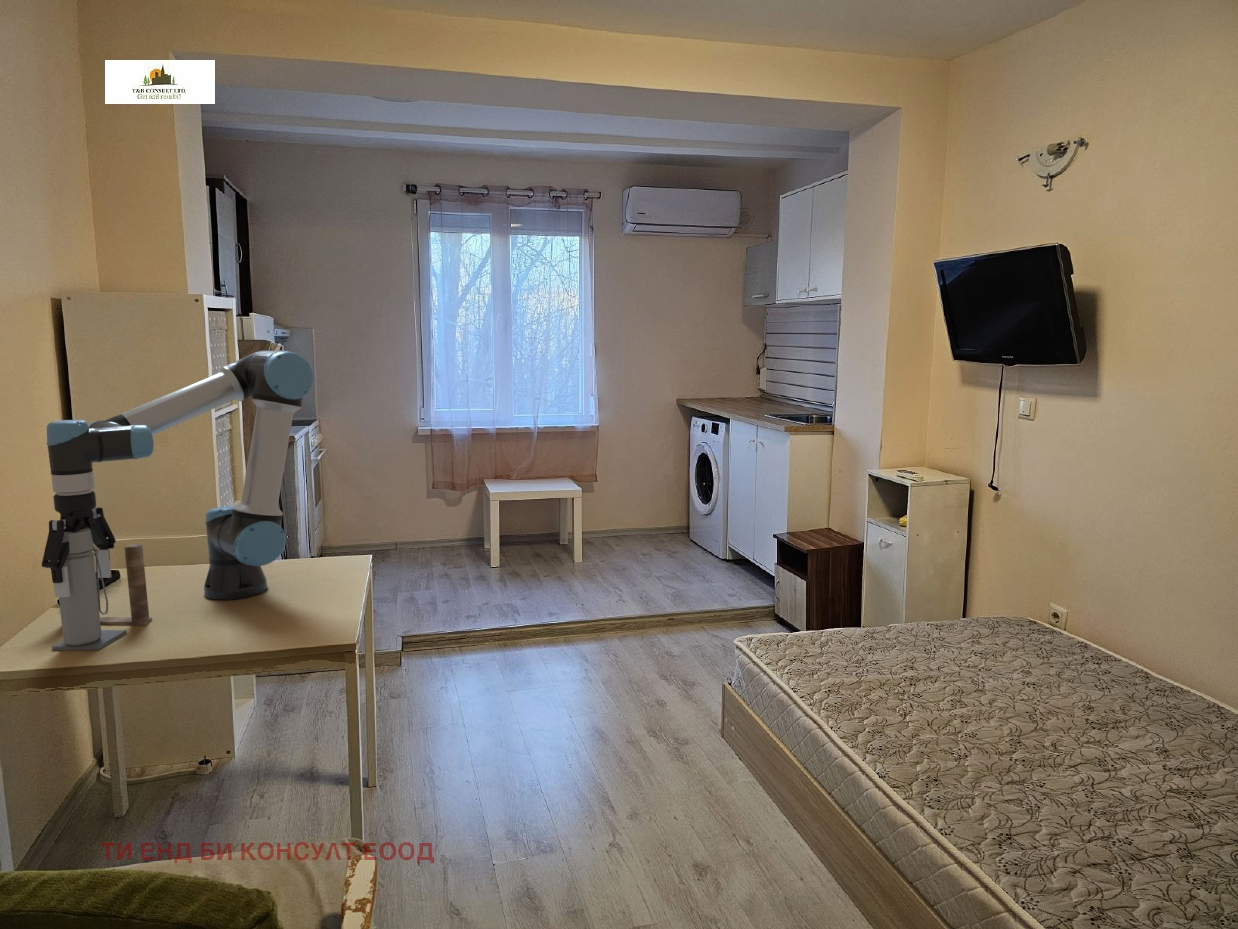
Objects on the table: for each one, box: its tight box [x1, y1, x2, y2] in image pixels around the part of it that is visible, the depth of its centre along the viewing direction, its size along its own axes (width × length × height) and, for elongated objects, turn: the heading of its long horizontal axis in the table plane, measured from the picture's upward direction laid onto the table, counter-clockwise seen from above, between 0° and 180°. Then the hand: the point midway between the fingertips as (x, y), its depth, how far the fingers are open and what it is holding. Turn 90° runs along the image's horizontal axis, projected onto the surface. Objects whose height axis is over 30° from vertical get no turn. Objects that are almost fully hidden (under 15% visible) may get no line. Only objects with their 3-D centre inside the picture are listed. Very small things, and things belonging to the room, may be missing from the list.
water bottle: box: [58, 528, 109, 646], centre depth 176 cm, size 9×8×25 cm
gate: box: [100, 543, 153, 626], centre depth 189 cm, size 20×4×19 cm, turn 89°
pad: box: [51, 629, 127, 652], centre depth 179 cm, size 10×10×1 cm
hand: (84, 586), depth 177 cm, fingers open, 13 cm apart
